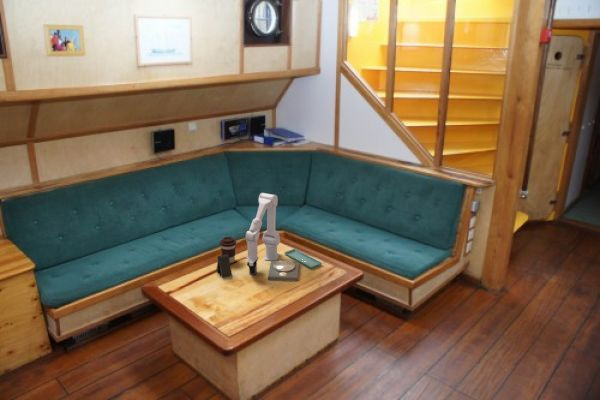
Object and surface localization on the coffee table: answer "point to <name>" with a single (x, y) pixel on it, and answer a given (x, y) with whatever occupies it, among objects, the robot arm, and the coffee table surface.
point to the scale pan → (284, 265)
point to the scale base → (283, 273)
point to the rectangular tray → (299, 256)
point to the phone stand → (224, 266)
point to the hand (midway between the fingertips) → (253, 271)
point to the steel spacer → (254, 272)
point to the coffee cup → (228, 247)
